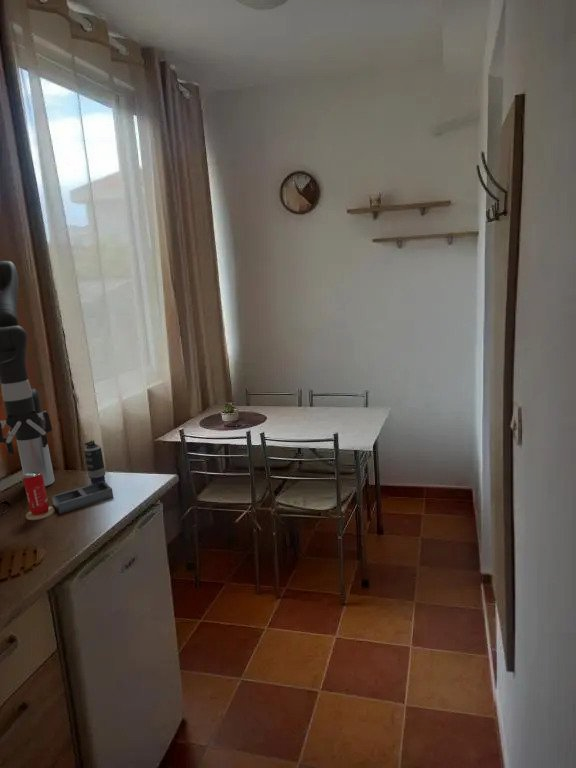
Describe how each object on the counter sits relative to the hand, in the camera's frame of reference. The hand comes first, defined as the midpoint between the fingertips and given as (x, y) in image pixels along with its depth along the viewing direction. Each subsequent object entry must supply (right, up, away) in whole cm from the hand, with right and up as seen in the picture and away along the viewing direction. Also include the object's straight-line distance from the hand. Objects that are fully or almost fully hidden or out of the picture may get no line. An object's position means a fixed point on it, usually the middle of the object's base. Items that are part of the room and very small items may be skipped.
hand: (28, 450), depth 158 cm
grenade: (+11, -14, +25) cm, 31 cm away
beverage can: (+2, -19, +4) cm, 20 cm away
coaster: (+2, -19, +4) cm, 20 cm away
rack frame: (+12, -17, +11) cm, 23 cm away
